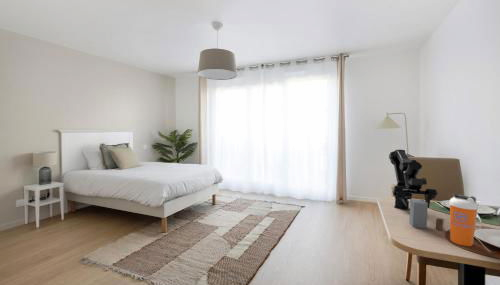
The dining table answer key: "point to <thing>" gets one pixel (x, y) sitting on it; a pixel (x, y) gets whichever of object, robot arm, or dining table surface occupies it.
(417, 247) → the dining table surface
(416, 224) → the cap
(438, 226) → the post
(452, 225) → the shaker bottle
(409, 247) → the dining table surface
